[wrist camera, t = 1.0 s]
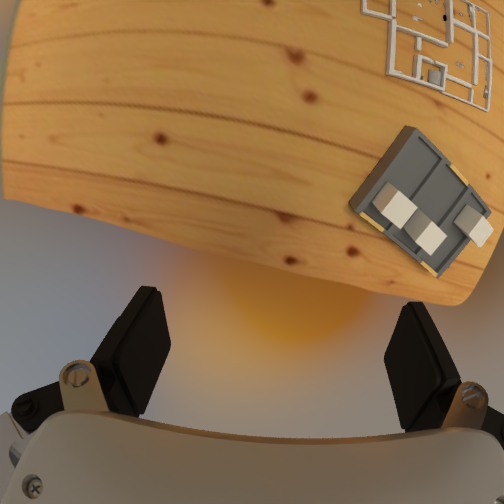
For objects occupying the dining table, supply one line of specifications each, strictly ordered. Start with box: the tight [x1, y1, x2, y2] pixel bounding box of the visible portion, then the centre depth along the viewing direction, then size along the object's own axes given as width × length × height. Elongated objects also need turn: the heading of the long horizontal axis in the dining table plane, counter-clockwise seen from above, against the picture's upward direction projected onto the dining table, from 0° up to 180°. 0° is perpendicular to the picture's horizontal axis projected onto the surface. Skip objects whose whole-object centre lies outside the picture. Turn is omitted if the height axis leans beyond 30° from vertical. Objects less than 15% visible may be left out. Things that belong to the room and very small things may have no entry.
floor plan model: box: [361, 0, 492, 112], centre depth 22 cm, size 19×25×2 cm
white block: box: [403, 209, 447, 255], centre depth 31 cm, size 3×3×4 cm
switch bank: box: [349, 125, 491, 278], centre depth 32 cm, size 12×16×4 cm
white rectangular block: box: [371, 181, 418, 229], centre depth 30 cm, size 3×3×4 cm
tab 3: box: [453, 204, 494, 248], centre depth 29 cm, size 3×3×4 cm
